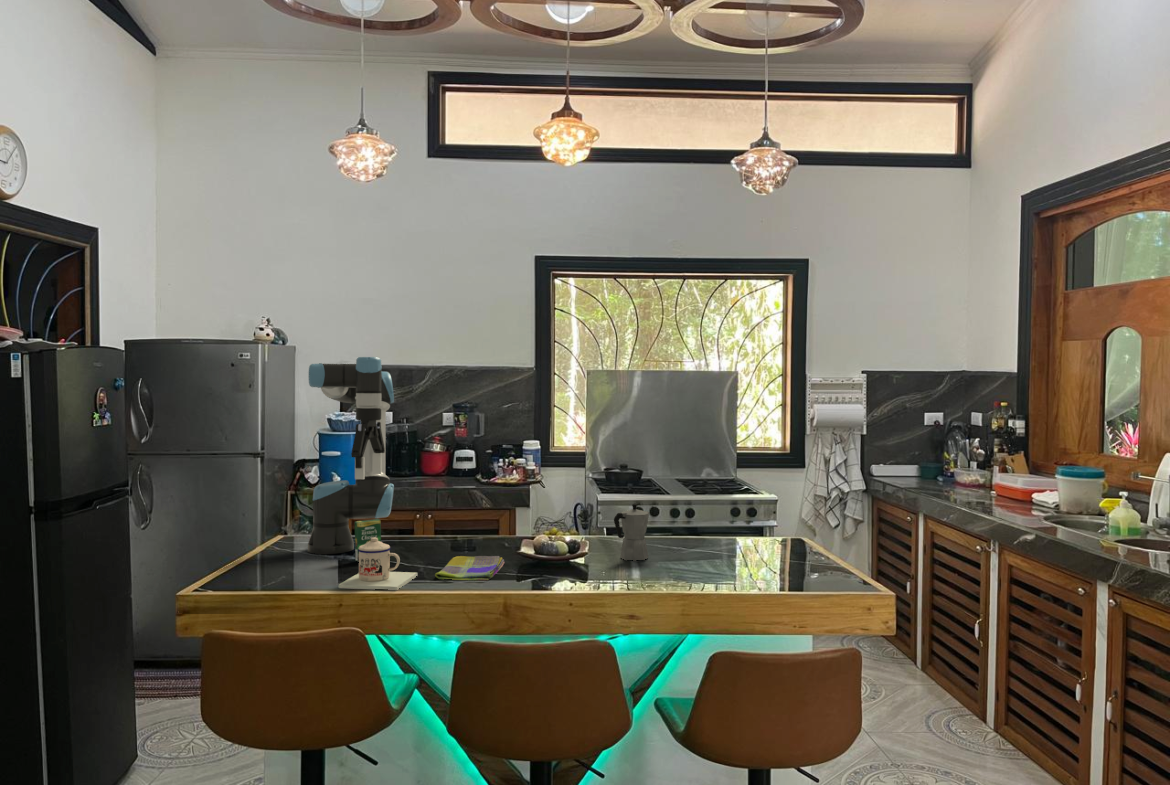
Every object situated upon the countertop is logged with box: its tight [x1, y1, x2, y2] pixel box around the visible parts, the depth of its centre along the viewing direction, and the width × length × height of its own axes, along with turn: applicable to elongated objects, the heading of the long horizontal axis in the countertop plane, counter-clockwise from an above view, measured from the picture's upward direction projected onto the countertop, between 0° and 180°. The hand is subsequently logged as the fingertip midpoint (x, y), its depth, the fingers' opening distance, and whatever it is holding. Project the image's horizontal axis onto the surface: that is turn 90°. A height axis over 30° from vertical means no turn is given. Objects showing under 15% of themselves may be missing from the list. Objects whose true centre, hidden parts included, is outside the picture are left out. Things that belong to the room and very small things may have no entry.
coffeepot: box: [613, 503, 651, 562], centre depth 269 cm, size 15×9×18 cm, turn 129°
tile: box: [338, 571, 418, 591], centre depth 237 cm, size 17×17×1 cm
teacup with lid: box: [358, 537, 401, 581], centre depth 237 cm, size 12×9×12 cm
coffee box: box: [354, 518, 382, 563], centre depth 264 cm, size 8×3×13 cm, turn 121°
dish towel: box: [434, 555, 505, 582], centre depth 252 cm, size 18×24×3 cm
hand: (368, 476), depth 251 cm, fingers open, 13 cm apart
